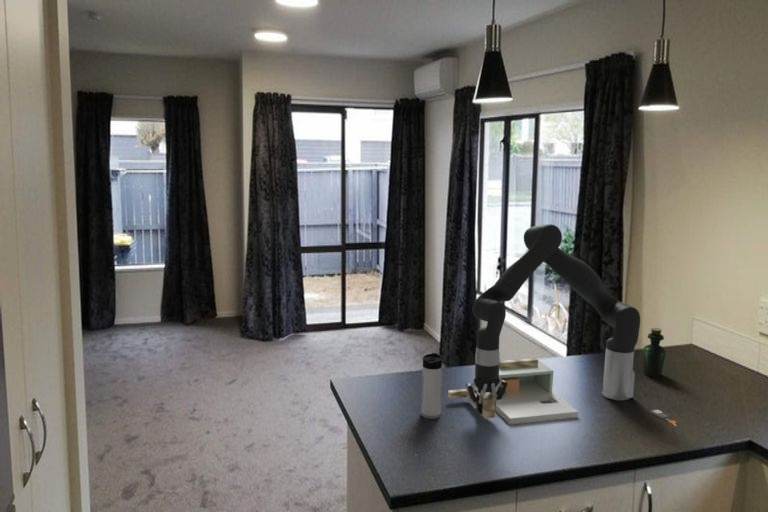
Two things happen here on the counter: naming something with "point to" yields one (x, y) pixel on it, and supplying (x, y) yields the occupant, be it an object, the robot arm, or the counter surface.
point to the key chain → (662, 416)
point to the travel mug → (431, 386)
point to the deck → (532, 397)
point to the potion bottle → (654, 354)
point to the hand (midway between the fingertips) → (485, 412)
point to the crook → (487, 402)
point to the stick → (518, 363)
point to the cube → (511, 385)
